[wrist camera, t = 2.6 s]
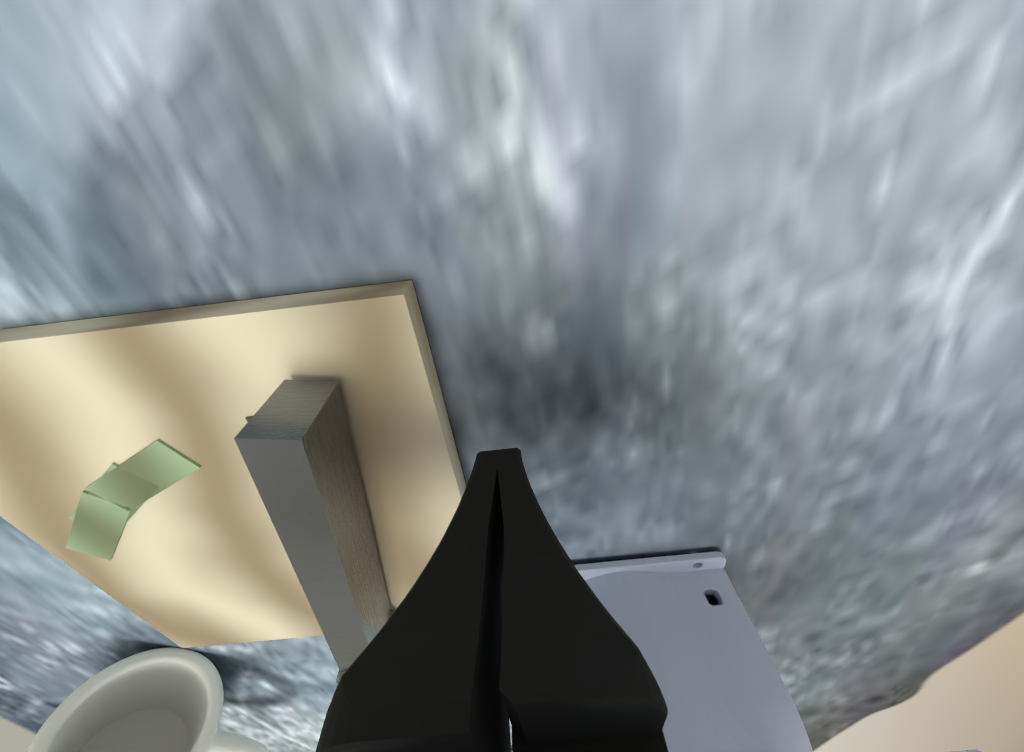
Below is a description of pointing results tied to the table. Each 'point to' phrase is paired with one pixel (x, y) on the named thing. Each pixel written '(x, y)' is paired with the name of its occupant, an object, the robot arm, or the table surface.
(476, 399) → the table surface
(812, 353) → the table surface
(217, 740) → the mug
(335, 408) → the pointer
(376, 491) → the board
